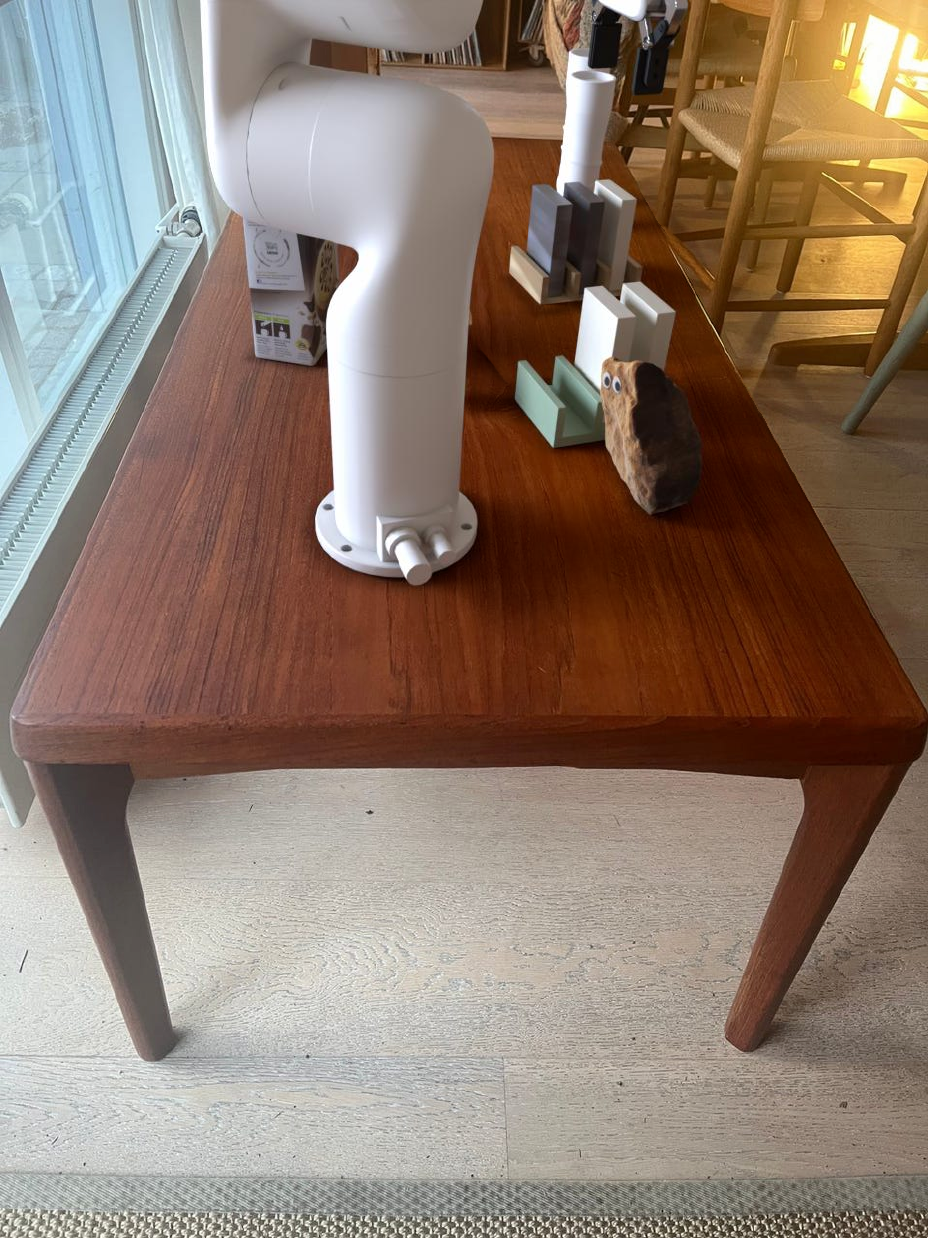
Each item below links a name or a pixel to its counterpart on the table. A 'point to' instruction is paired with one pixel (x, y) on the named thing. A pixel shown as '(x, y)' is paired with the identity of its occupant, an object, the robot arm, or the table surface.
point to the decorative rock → (650, 434)
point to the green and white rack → (595, 362)
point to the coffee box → (289, 292)
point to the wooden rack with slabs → (565, 246)
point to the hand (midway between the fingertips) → (623, 80)
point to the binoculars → (584, 120)
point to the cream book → (615, 229)
